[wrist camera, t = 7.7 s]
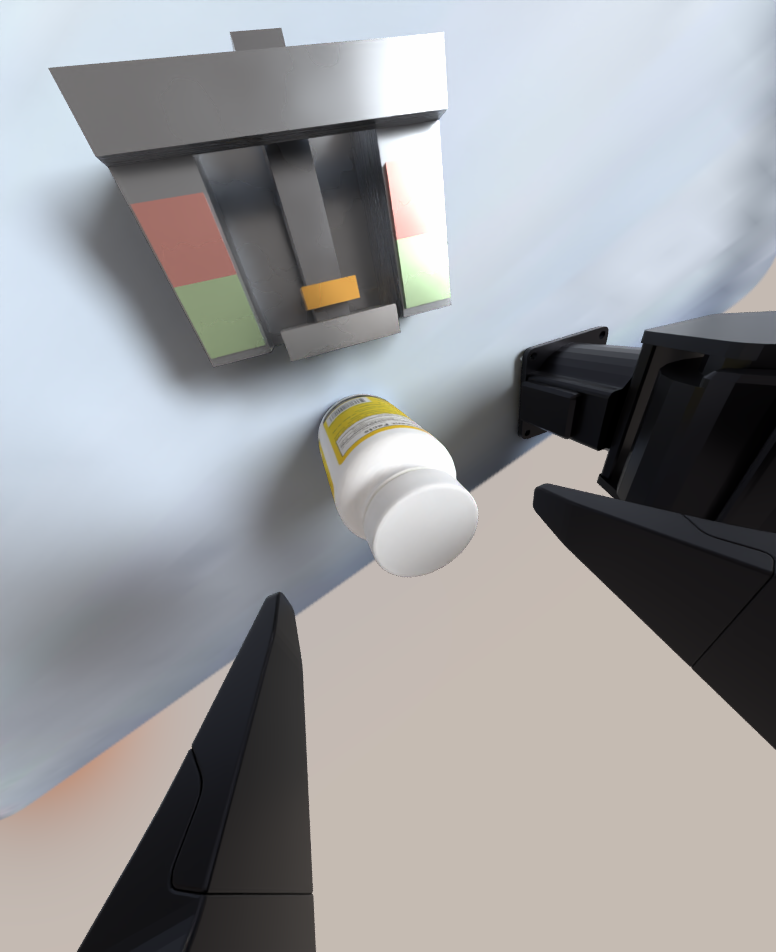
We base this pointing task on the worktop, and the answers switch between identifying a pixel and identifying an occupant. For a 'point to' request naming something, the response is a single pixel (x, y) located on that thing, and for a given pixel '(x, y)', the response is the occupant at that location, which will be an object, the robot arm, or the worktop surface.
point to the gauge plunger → (314, 244)
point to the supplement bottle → (395, 486)
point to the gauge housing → (249, 183)
